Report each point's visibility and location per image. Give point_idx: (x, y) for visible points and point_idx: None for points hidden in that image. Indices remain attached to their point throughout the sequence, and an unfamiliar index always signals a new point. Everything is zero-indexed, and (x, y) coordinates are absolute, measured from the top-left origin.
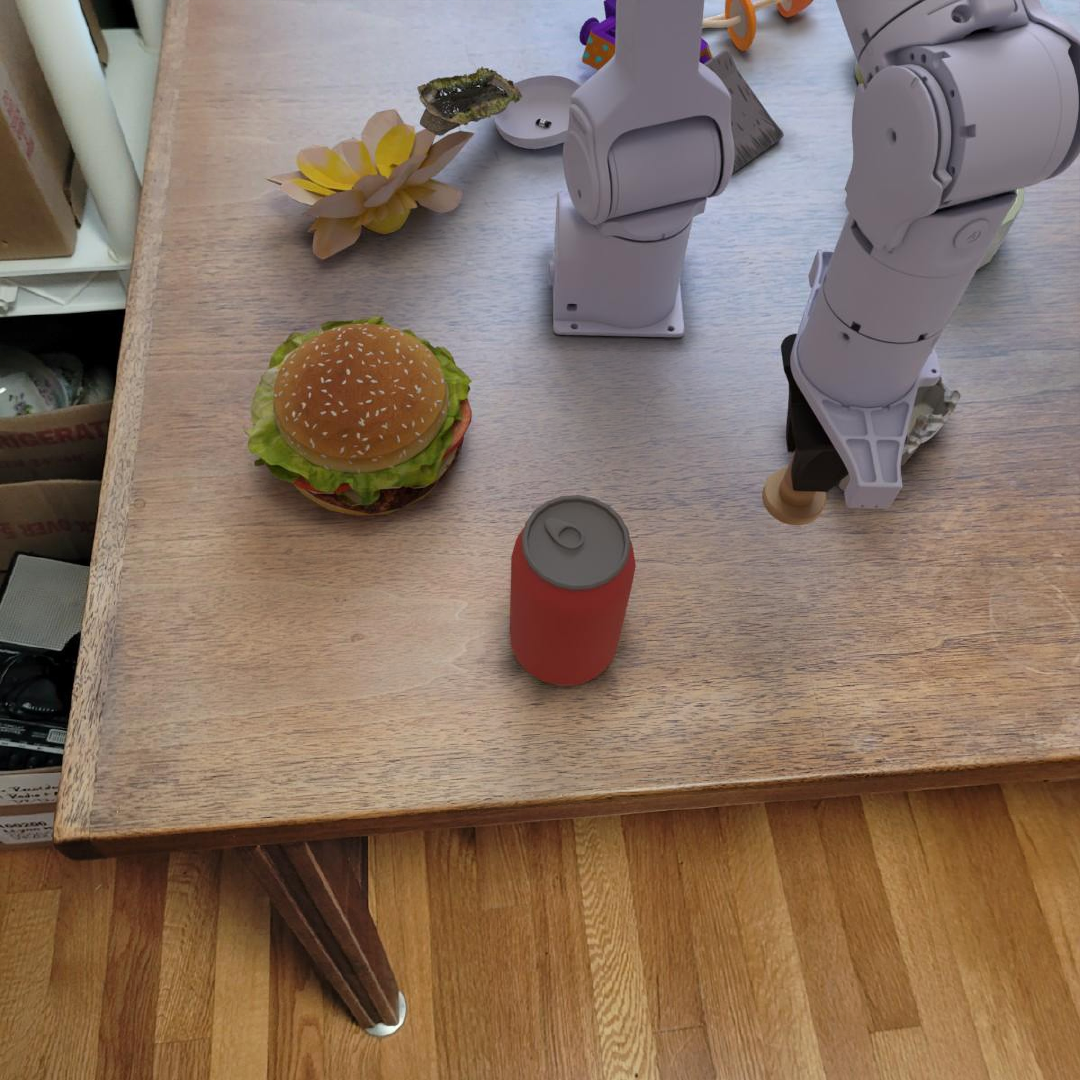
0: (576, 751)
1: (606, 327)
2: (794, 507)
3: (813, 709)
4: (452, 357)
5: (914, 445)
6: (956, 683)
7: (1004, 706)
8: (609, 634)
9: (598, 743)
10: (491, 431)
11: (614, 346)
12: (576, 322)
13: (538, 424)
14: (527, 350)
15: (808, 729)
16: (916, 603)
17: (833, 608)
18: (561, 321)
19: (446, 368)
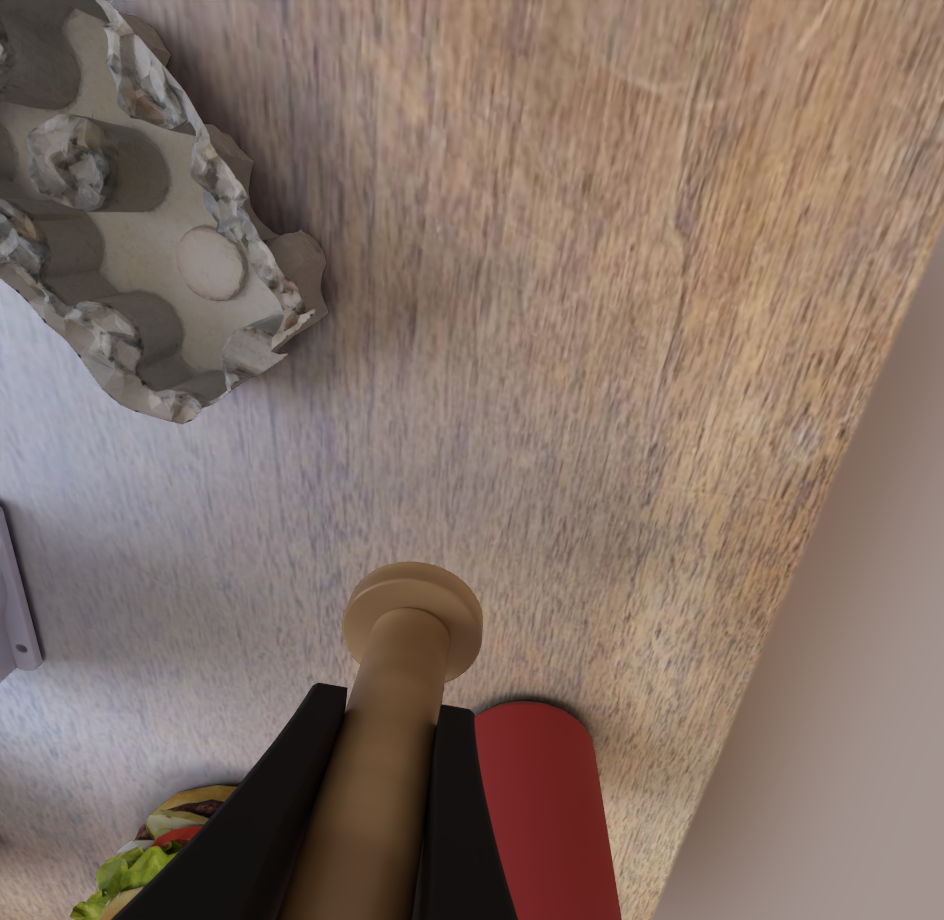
0: (668, 754)
1: (11, 611)
2: (450, 651)
3: (719, 500)
4: (121, 854)
5: (219, 165)
6: (770, 238)
7: (857, 148)
8: (605, 857)
9: (667, 735)
10: (222, 747)
11: (47, 595)
12: (13, 643)
13: (206, 704)
14: (80, 693)
15: (746, 516)
16: (584, 256)
17: (558, 416)
18: (16, 660)
19: (142, 870)
